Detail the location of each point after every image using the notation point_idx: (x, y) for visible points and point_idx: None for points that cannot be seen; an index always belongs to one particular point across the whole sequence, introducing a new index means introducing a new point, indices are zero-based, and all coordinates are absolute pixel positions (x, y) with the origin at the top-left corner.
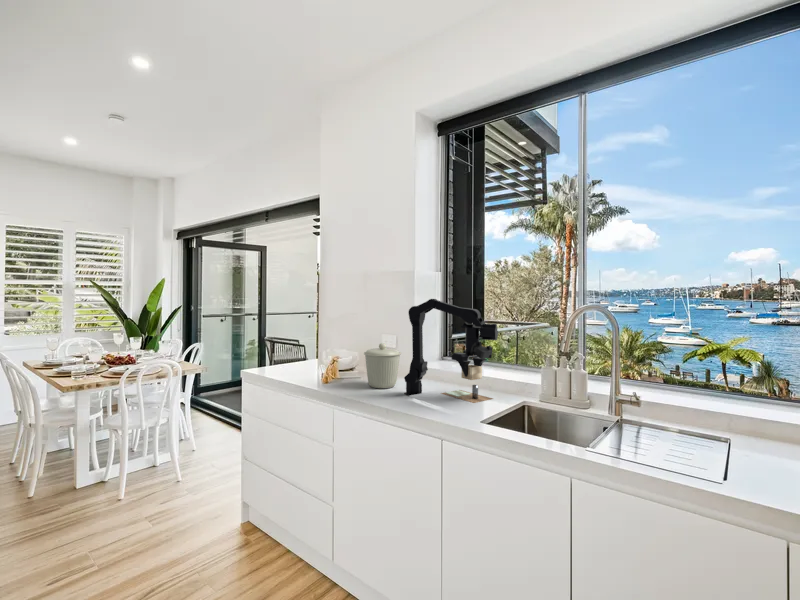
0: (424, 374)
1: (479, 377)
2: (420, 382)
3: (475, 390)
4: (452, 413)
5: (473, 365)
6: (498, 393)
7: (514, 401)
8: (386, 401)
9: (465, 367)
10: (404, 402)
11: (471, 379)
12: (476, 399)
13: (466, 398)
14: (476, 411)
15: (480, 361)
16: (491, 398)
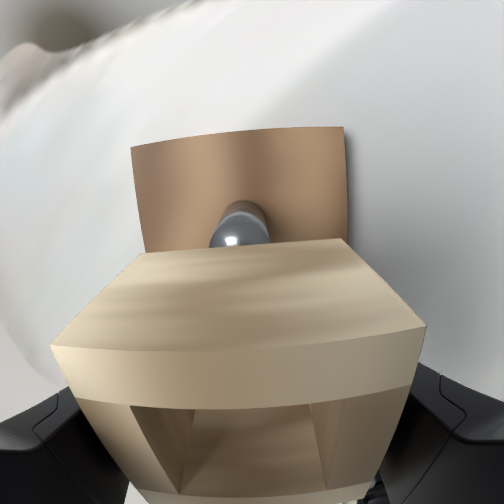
0: (381, 501)
1: (180, 257)
2: (380, 473)
3: (257, 217)
4: (488, 121)
5: (155, 482)
6: (21, 292)
7: (38, 119)
8: (498, 383)
9: (464, 402)
10: (487, 359)
11: (344, 246)
12: (258, 190)
13: None
14: (385, 57)
15: (16, 472)
16: (141, 159)
